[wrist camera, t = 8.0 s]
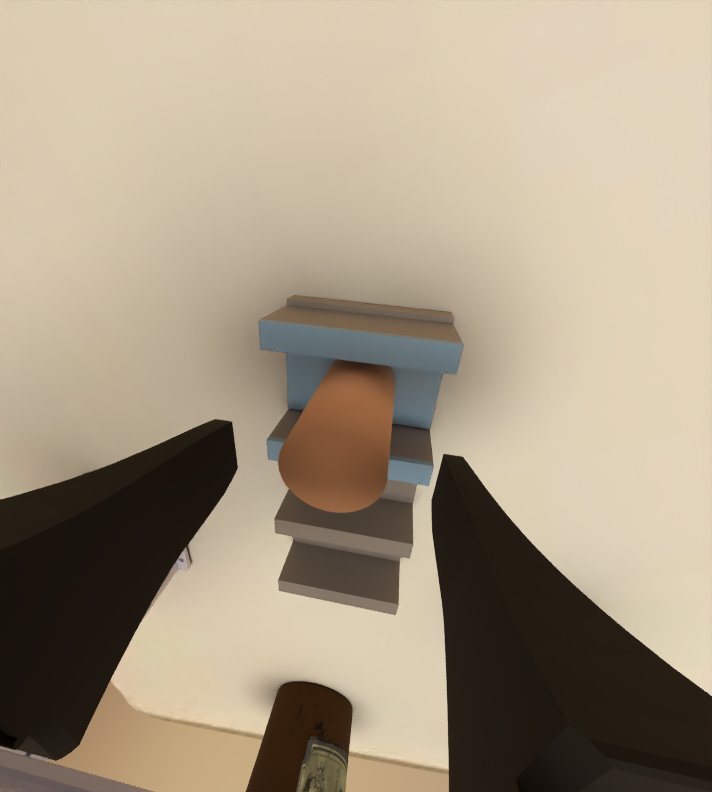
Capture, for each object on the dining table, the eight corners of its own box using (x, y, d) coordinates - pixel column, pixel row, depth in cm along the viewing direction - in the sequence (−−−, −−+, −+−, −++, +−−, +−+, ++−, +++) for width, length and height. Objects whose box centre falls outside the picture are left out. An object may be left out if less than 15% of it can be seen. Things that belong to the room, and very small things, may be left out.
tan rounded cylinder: (390, 417, 17) (380, 520, 11) (326, 408, 17) (280, 503, 11) (400, 355, 15) (394, 433, 9) (328, 346, 16) (275, 416, 9)
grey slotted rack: (397, 561, 24) (395, 622, 20) (297, 543, 25) (277, 597, 21) (451, 312, 15) (465, 337, 11) (294, 295, 16) (257, 312, 12)
